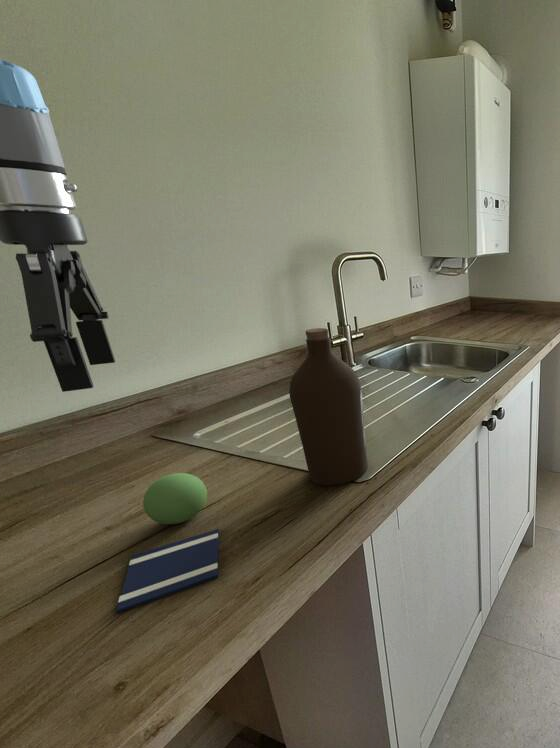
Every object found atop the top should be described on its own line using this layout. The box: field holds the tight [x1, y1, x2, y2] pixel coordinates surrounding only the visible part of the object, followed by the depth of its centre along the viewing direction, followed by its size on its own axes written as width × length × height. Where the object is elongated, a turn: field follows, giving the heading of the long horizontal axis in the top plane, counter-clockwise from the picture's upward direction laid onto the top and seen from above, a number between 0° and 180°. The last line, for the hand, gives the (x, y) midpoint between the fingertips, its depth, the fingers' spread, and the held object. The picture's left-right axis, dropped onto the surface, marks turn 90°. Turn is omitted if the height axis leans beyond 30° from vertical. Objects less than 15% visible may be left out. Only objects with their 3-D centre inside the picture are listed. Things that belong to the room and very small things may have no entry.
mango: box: [142, 472, 208, 525], centre depth 58 cm, size 7×7×7 cm
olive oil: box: [288, 327, 369, 487], centre depth 67 cm, size 11×11×25 cm
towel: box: [115, 528, 220, 614], centre depth 50 cm, size 10×9×1 cm
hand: (92, 375), depth 57 cm, fingers open, 13 cm apart
